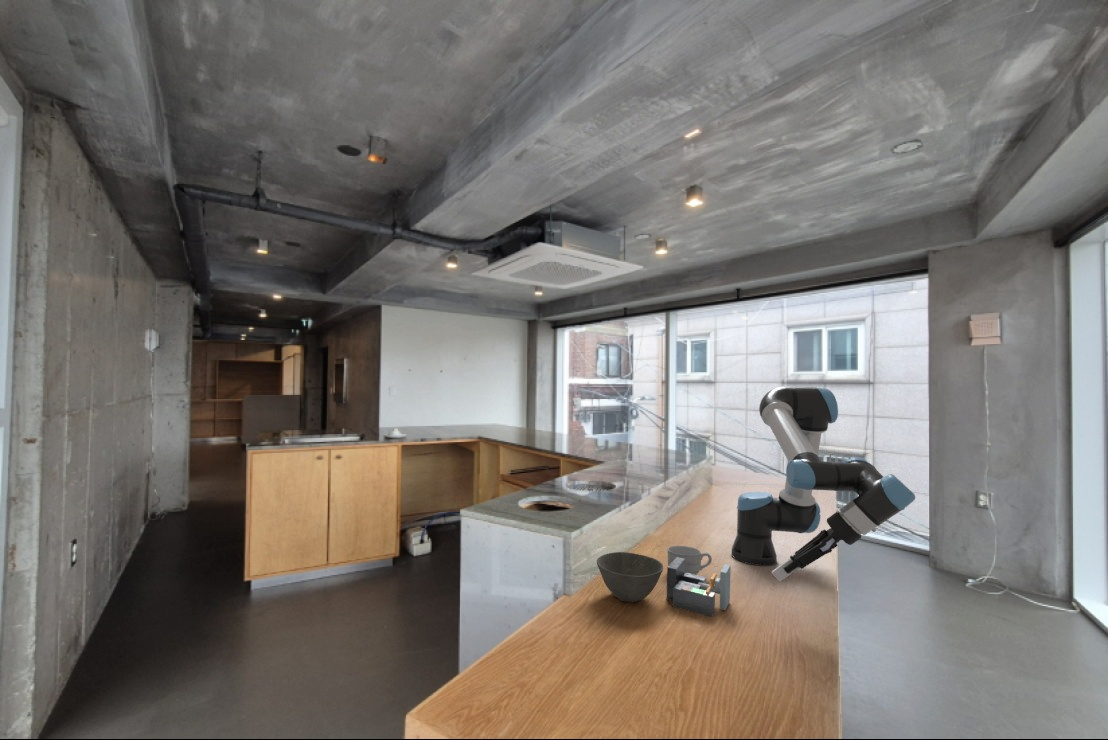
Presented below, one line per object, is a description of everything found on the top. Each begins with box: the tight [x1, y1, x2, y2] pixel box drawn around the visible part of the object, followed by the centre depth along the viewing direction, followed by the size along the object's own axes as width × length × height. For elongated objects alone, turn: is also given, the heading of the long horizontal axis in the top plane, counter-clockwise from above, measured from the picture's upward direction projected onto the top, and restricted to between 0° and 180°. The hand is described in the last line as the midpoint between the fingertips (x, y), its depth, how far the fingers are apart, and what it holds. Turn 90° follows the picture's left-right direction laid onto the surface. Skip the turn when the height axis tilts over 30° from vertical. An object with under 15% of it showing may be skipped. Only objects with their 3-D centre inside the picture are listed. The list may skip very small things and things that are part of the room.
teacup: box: [666, 545, 713, 575], centre depth 153 cm, size 14×11×8 cm
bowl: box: [596, 551, 664, 603], centre depth 134 cm, size 19×19×10 cm
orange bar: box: [706, 572, 718, 594], centre depth 130 cm, size 11×1×2 cm, turn 150°
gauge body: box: [666, 557, 716, 618], centre depth 133 cm, size 14×13×9 cm
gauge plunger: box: [698, 563, 731, 611], centre depth 132 cm, size 7×8×10 cm
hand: (775, 576), depth 124 cm, fingers closed
